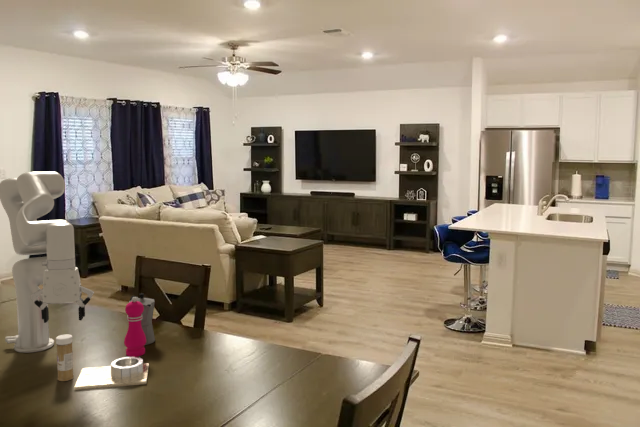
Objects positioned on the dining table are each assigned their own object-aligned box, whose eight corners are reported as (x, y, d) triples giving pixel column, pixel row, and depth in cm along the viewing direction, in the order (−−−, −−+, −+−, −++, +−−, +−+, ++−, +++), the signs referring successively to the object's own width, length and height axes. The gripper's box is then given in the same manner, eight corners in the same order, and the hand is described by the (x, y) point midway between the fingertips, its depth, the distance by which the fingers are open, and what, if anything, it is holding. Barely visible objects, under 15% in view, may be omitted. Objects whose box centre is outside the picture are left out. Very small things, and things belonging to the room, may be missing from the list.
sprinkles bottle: (54, 378, 166) (53, 336, 164) (69, 374, 169) (68, 332, 168) (61, 383, 163) (60, 340, 161) (76, 378, 166) (75, 336, 165)
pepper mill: (139, 358, 183) (138, 300, 181) (120, 356, 184) (118, 299, 182) (150, 350, 190) (149, 295, 188) (131, 348, 191) (130, 293, 189)
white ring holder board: (74, 390, 158) (73, 375, 158) (82, 371, 172) (82, 357, 171) (146, 383, 163) (146, 369, 163) (148, 365, 177) (148, 352, 176)
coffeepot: (163, 343, 198) (162, 294, 196) (138, 349, 191) (137, 299, 189) (143, 332, 209) (142, 286, 207) (119, 337, 202) (118, 290, 200)
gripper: (25, 268, 156) (28, 326, 158) (90, 265, 160) (92, 322, 162) (32, 263, 163) (35, 318, 165) (94, 260, 168) (96, 314, 169)
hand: (63, 320), depth 164 cm, fingers open, 9 cm apart
